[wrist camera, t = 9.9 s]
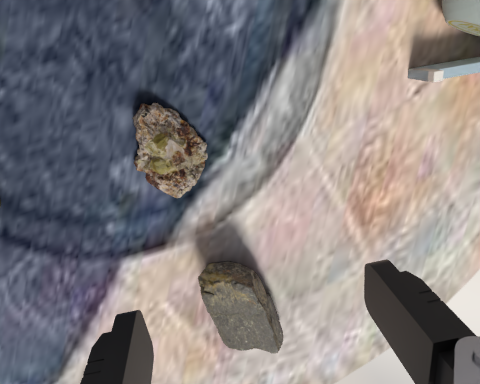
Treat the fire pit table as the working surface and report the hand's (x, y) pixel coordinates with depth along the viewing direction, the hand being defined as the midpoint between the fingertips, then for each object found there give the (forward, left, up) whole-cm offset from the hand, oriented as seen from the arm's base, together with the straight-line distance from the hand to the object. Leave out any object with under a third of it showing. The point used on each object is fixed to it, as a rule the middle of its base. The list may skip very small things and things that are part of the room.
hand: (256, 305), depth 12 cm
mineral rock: (+2, -5, -29) cm, 29 cm away
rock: (+24, 0, -28) cm, 37 cm away
